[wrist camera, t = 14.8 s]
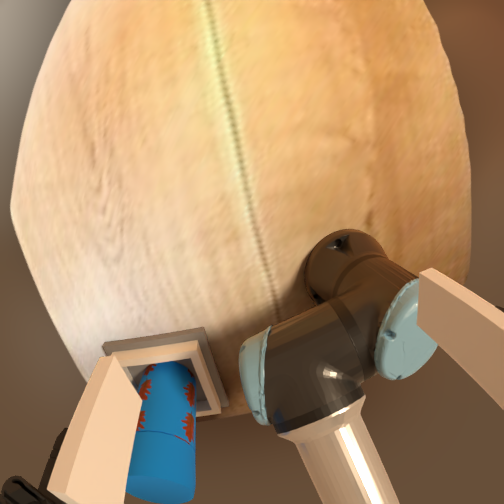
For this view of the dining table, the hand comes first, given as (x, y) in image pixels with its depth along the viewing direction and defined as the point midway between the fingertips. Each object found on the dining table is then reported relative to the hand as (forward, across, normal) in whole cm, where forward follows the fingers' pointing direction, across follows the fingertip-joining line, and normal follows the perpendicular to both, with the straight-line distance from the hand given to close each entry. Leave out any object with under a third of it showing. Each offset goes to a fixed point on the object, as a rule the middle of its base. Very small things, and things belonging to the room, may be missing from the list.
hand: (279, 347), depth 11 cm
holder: (+35, +20, +28) cm, 49 cm away
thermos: (+33, +20, +28) cm, 48 cm away
